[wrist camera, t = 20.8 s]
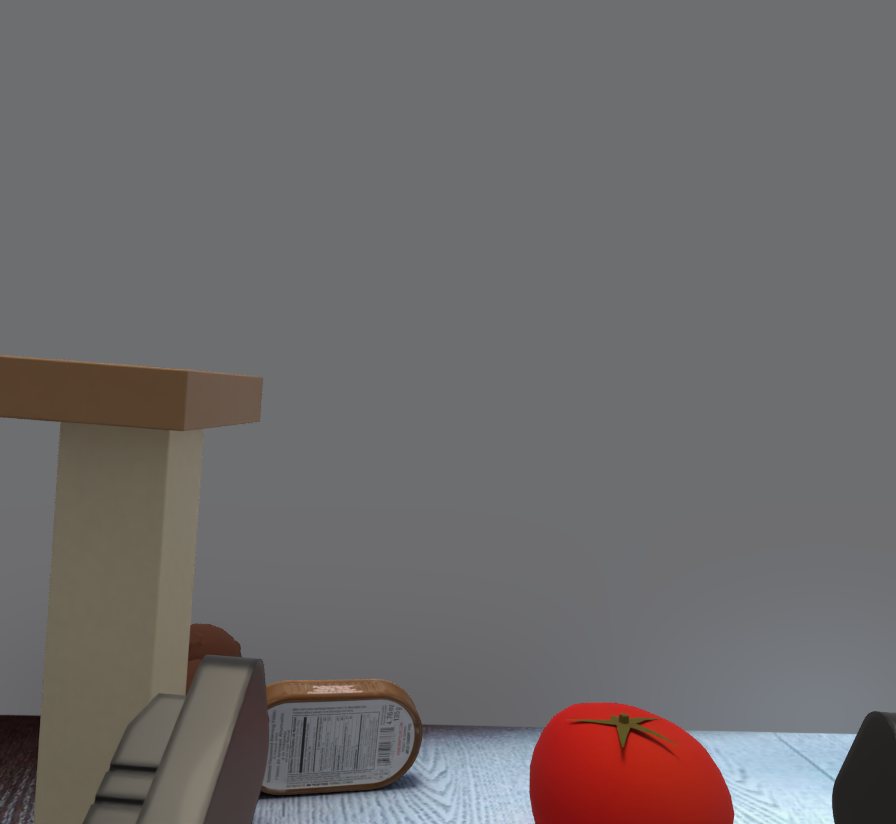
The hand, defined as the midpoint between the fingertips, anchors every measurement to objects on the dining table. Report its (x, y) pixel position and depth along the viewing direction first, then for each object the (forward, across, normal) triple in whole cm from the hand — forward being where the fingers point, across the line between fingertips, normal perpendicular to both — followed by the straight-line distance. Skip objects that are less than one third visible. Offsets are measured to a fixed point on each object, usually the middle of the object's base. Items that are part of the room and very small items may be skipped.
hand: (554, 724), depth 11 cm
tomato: (+25, -11, +47) cm, 54 cm away
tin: (+33, +10, +51) cm, 62 cm away
